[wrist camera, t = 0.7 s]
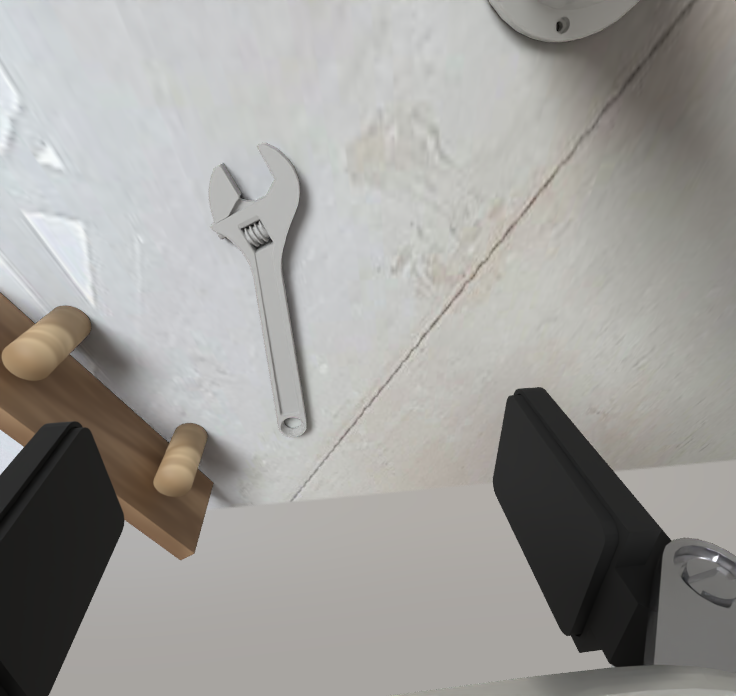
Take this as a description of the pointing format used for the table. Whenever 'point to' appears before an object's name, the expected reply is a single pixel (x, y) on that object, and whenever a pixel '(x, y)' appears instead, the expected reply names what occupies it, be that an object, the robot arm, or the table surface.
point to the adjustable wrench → (266, 269)
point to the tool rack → (102, 426)
